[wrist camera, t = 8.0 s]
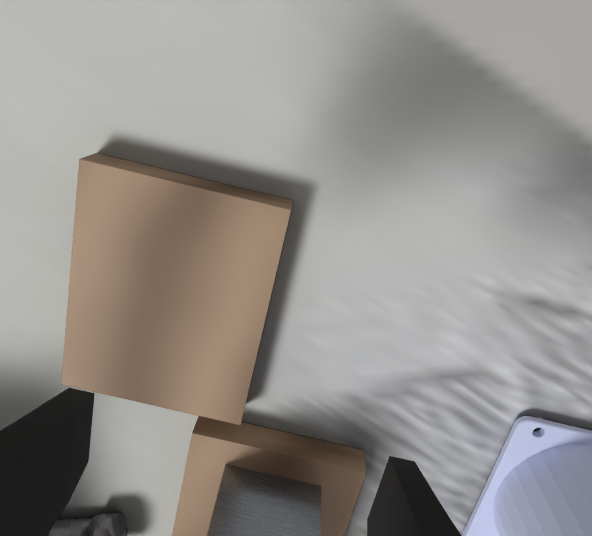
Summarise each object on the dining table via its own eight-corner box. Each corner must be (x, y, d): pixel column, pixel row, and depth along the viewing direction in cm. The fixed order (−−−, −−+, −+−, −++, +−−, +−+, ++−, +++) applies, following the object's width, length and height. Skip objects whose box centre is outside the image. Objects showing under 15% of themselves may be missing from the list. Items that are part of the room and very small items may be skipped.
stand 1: (293, 200, 21) (290, 209, 20) (245, 405, 25) (240, 425, 23) (96, 153, 21) (79, 159, 19) (76, 366, 24) (61, 384, 23)
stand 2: (364, 450, 25) (366, 472, 24) (314, 594, 29) (313, 621, 27) (199, 412, 25) (192, 433, 23) (170, 562, 28) (162, 588, 27)
